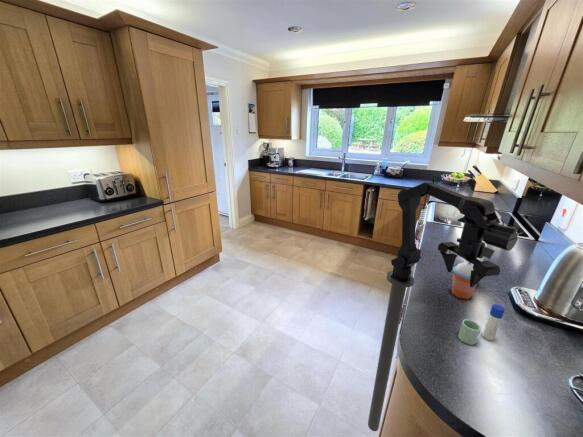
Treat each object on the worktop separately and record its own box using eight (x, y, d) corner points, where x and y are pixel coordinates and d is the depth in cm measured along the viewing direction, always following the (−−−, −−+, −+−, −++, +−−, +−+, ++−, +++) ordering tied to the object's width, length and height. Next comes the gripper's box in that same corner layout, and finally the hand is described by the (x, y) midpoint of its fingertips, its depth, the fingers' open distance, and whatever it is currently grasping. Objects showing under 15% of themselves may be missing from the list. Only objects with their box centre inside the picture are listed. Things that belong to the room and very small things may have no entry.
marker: (482, 337, 76) (492, 307, 72) (482, 332, 78) (492, 302, 74) (493, 342, 74) (505, 311, 71) (493, 336, 77) (504, 306, 73)
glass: (456, 337, 76) (460, 323, 74) (461, 330, 79) (465, 317, 77) (473, 347, 73) (478, 333, 71) (477, 339, 75) (482, 325, 73)
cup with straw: (450, 284, 103) (461, 246, 97) (476, 294, 97) (489, 254, 91) (444, 294, 97) (455, 253, 91) (471, 305, 90) (485, 262, 85)
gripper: (522, 248, 71) (506, 293, 77) (467, 226, 89) (457, 263, 94) (491, 251, 69) (477, 297, 74) (441, 228, 87) (432, 266, 92)
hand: (460, 279), depth 84 cm, fingers open, 9 cm apart
